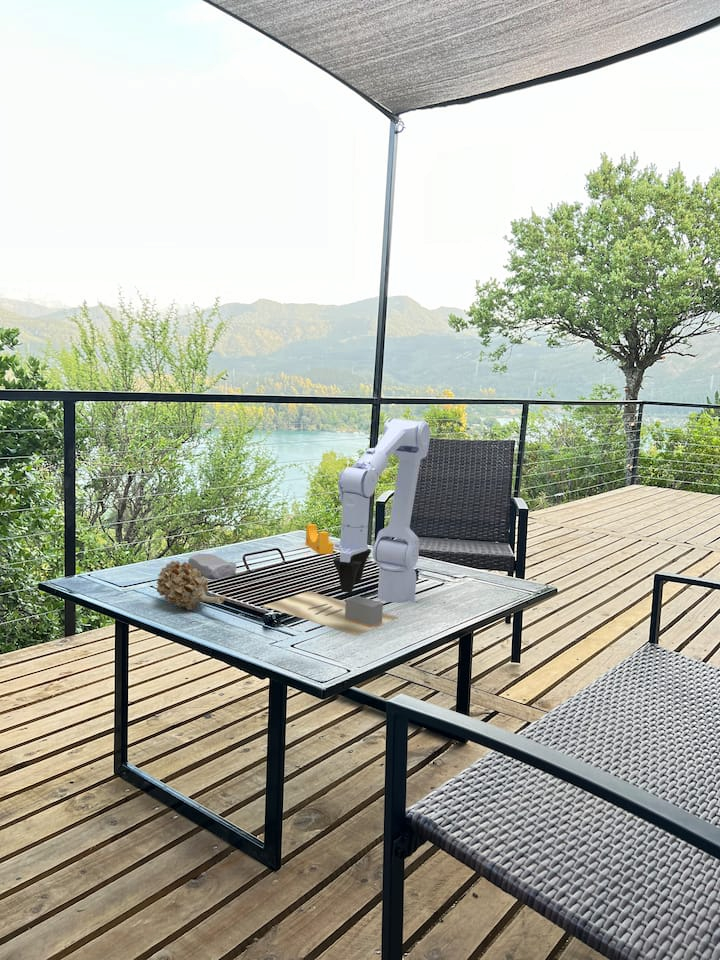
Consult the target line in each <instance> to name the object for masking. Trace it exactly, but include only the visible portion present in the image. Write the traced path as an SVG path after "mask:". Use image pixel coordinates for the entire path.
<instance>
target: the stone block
mask: <svg viewBox="0 0 720 960" xmlns="http://www.w3.org/2000/svg"><path fill="white" fill-rule="evenodd" d="M189 563H190V565H191V568H192V570H193V569H194V568H196V569H197V571H200V573H201V576H202V577H205V578H206V579H211V580H216V579H221V578H224V577H231V576H234V575H235V573H236V572H237V564H236V563H235V562H232V561H229V562H228V561H227V560H224V559H223V558H222V557H219V556H217V555H215V554H212V553H209V554H208V553H198V554H194V555H191V556H190V557H189V558H188V561H187V564H189Z"/></svg>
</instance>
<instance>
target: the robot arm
mask: <svg viewBox="0 0 720 960" xmlns="http://www.w3.org/2000/svg"><path fill="white" fill-rule="evenodd" d="M431 435H432V434H431V429H430V426H429V423H428V422H427V421H425V420H421V421H420V420H410V419H400V418H394V417H389V418H388V419H387V420H386V421H385V423H384V424H383V428H382V437H381V438H380V439H379V441H378V442H377V444H376V445H375V447H371V448H370V447H369V448H367V449H366V451H365V452H363V454H362V455H361V456H360V457H359V459H357V461H356V462H355V463H354V464H353V465H352V466H351V467H350V466H347V467H346V468H344V469H342V470H341V472H340V474H339V477H338V480H337V488H338V489H337V490H338V491H339V501H340V502H341V521H340V536H339V538H340V539H339V541H336V542H335V543H334V547H335V548H338V549H339V551H340V552H339V555H340V556H339V557H337V556H336V557H334V558H333V564H334V567H335V569H336V571H337V574H338V578H339V579H338V580H339V585H340V590H341V593H349V594H352V592H353V590H354V586H355V583H358V584H360V583H361V581H362V578H363V573H364V569H365V566H366V563H367V560H368V559H369V557H370V555H371V553H372V557H373V561H374V562H375V563H376V567H379V572H378V587H377V598H378V600H381V601H384V602H387V603H388V602H389V603H403V602H407V601H410V602H413V603H418V602H419V600H418V599H416V588H417V573H416V570H415V569H414V567H416V565H417V563H418V560H419V554H420V550H419V545H420V543H419V542H420V538H419V537H418V535H417V534H416V533H414V531H413V530H412V529H411V527H410V526H411V521H412V519H411V518H412V515H413V509H414V508H413V507H414V503H415V502H414V501H415V497H416V491H417V484H418V479H419V473H420V466H421V462H422V461H421V460H422V459H425V458H426V457H427V455H428V452H429V447H430V442H431V441H430V440H431ZM392 455H395V456H397V459H398V461H399V462H398V466H397V467H398V468H397V474H396V479H395V480H396V481H395V484H394V485H395V486H394V492H393V499H392V504H391V510H390V515H389V522H388V525H386V526H385V527H384V528H382V529H380V530H379V531H378V533H377V535H376V539H375V543H374V544H373V547H372V550H371V549H370V548H369V545H368V537H369V536H368V535H369V533H368V532H369V516H370V500H371V499H370V498H371V496H373V495H374V493H375V490H376V485H377V484H378V482H379V478H380V476H381V474H383V472H384V471H385V470H386V468H387V467H388V465H389V461H388V460H389V457H391V456H392ZM392 538H394V539H392ZM395 538H396V539H395ZM397 539H398V540H397ZM399 539H400V540H399Z"/></svg>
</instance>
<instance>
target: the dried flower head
mask: <svg viewBox="0 0 720 960" xmlns="http://www.w3.org/2000/svg"><path fill="white" fill-rule="evenodd" d="M160 570H161V571H160V572H159V574H157V577H158V579H157V581H156V584H157V587H156V592H157V593H158V594H159V596H162V597H163V596H164V598H163V599H164V601H166V602H167V603H168V604H172V603H173V604H174V606H175V607H177V606H178V608H182V607H184V606H185V608H186V609H187V611H188V610H192V611H193V609H194V608H195V607H196V606H198V607H199V606H200V605H201V603H203V602H206V603H210V604H211V603H212V604H213V603H214V604H224V602H225V600H226V595H225V594H222V595H221V596H210V595H207V594H208V592H209V587H208V582H209V580H208V579H207V578H206V577H204V576H202V575H201V573H200V571H197V569H196V568H194V569H193V570H192V568H191V565H190V563H189V564H188V562H186V561H184V562H183V563H181V562H179V560H176V561H174V560H171V561H170V563H167V564H165V567H162V568H161V569H160Z"/></svg>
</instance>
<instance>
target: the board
mask: <svg viewBox="0 0 720 960" xmlns="http://www.w3.org/2000/svg"><path fill="white" fill-rule="evenodd" d="M345 607H346V600H345V601H344V600H341V599H337V598H335V597H331V596H326V595H325V594H324V595H323V594H319V593H316V592H312V591H311V590H307V591H304V592H301V593H299V594H298V593H297V594H295V595H292V596H289V597H286V598H283V599H280V600H277V601H273V602H271V603H267V604H264V605H262V609H263V608H265V610H268V609H271V610H274V611H277V612H281V613H283V614H286V615H290V616H294V617H296V618H299V619H303V620H306V621H310V622H312V623H314V624H315V623H316V624H318V625H320V626H321V625H322V626H325V627H327V628H331V629H333V630H334V629H335V630H337V631H341V632H344V633H346V634H350V635H353V636H359V635H361V634H363V633H366V632H368V631H370V630H372V629H374V628H377V627H380V626H381V625H384V624H386V623H387V624H388V623H389V622H391V621H393V620H396V619H398V618H399V616H396V615H392V614H389V613H385V612H382V623H381V624H378V625H376V626H374V627H368V626H364V625H361V624H358V623H354V622H351V621H348V620H345Z"/></svg>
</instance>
